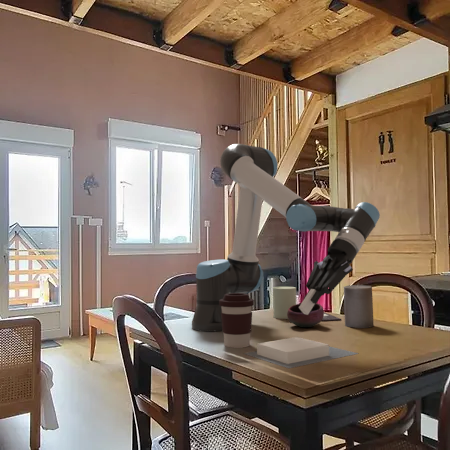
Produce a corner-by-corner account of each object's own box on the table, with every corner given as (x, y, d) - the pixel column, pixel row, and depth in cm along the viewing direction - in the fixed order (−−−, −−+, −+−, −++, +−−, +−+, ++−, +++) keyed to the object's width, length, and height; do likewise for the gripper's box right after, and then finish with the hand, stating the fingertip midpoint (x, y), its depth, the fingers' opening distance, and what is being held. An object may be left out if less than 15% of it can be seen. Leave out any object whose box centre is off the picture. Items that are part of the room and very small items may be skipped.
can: (270, 315, 191) (270, 285, 192) (293, 314, 192) (292, 285, 193) (275, 319, 182) (275, 287, 182) (299, 318, 183) (298, 287, 183)
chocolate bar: (318, 320, 176) (302, 312, 194) (318, 322, 176) (302, 315, 194) (341, 319, 177) (323, 312, 195) (341, 321, 177) (323, 314, 195)
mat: (243, 355, 125) (243, 353, 125) (310, 343, 139) (310, 341, 139) (288, 370, 110) (288, 368, 110) (358, 355, 124) (358, 353, 124)
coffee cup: (230, 341, 143) (229, 291, 143) (260, 345, 138) (259, 293, 138) (213, 348, 134) (212, 295, 135) (244, 352, 129) (243, 296, 130)
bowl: (329, 329, 161) (329, 305, 161) (292, 330, 159) (291, 306, 159) (314, 321, 176) (314, 299, 177) (281, 322, 175) (280, 300, 175)
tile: (297, 347, 132) (257, 354, 124) (297, 336, 132) (257, 343, 124) (329, 355, 122) (287, 363, 114) (328, 344, 122) (287, 352, 114)
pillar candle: (369, 323, 171) (367, 281, 172) (377, 328, 161) (375, 283, 162) (342, 323, 171) (340, 282, 172) (348, 328, 162) (346, 284, 162)
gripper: (322, 237, 139) (279, 299, 130) (357, 237, 129) (313, 304, 119) (335, 255, 142) (294, 317, 132) (370, 256, 131) (328, 323, 122)
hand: (303, 311), depth 126 cm, fingers closed
